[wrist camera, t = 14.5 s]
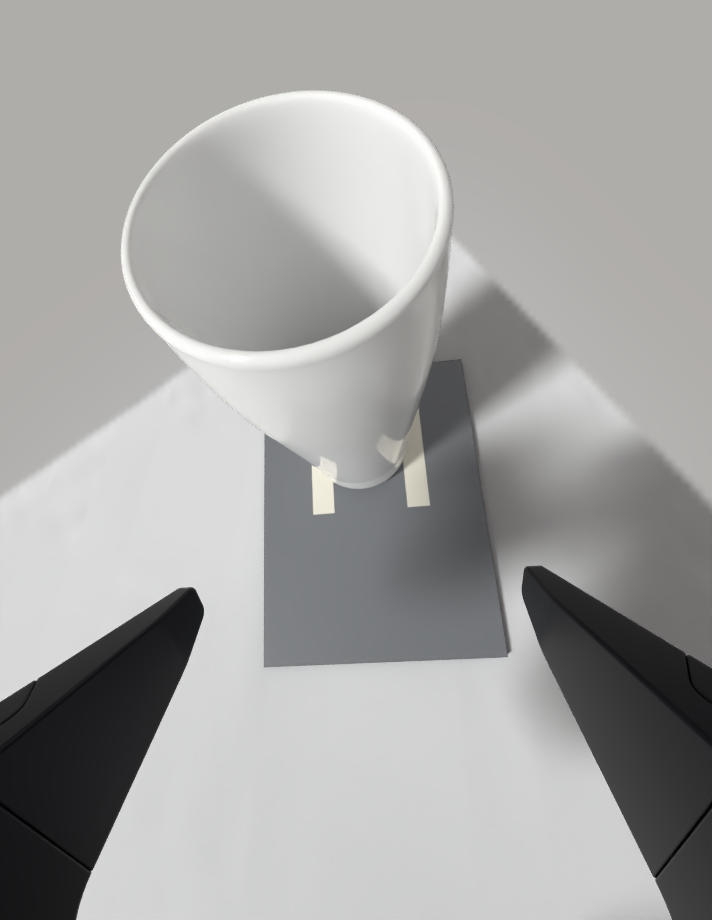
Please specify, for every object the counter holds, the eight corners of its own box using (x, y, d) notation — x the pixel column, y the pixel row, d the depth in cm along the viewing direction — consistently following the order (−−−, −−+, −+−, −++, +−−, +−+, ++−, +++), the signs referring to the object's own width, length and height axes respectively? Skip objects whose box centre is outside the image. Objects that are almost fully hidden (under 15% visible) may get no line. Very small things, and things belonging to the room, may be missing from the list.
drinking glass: (381, 527, 20) (333, 437, 6) (280, 467, 22) (44, 279, 7) (441, 423, 21) (525, 133, 7) (341, 373, 23) (240, 52, 9)
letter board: (506, 655, 18) (507, 657, 18) (265, 665, 19) (263, 667, 19) (460, 361, 23) (461, 359, 22) (266, 383, 24) (264, 381, 23)
